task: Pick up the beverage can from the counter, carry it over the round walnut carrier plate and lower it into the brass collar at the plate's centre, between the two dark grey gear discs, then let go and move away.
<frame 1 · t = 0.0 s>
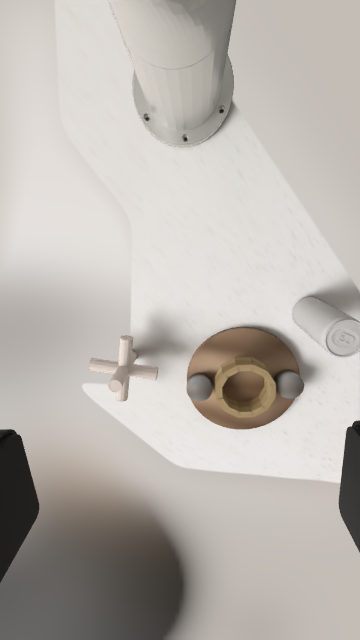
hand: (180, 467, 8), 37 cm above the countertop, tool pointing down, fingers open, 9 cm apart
beverage can: (306, 311, 44), on the countertop
carrier: (241, 378, 48), on the countertop
pipe connector: (131, 354, 48), on the countertop
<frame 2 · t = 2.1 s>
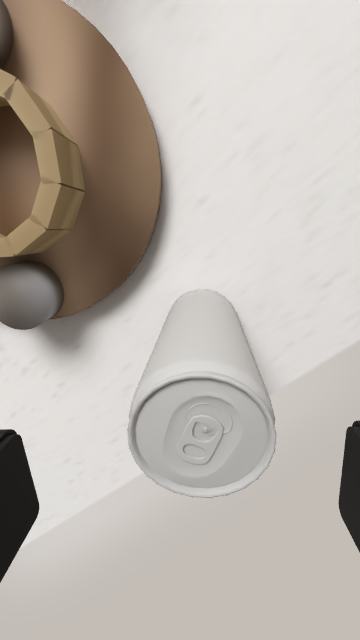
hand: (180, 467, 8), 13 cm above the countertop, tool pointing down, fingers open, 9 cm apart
beverage can: (202, 320, 20), on the countertop
carrier: (21, 179, 18), on the countertop
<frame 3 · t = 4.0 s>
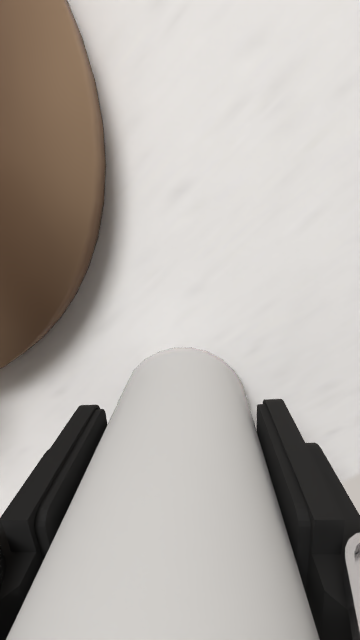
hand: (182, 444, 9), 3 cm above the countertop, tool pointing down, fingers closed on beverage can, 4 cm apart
beverage can: (185, 393, 12), on the countertop, touching gripper
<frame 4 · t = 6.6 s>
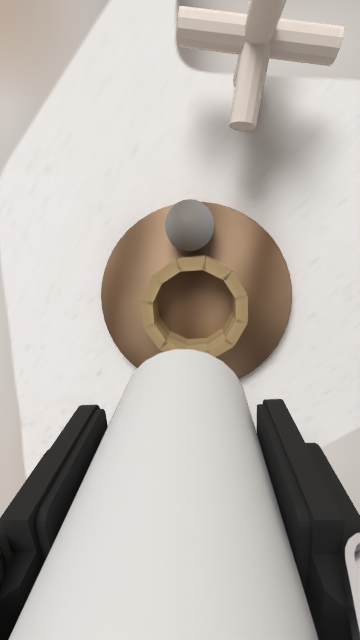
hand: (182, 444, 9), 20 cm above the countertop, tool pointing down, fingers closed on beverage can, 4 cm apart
beverage can: (185, 394, 12), point 17 cm above the countertop, touching gripper
carrier: (194, 301, 28), on the countertop
pipe connector: (244, 78, 23), on the countertop
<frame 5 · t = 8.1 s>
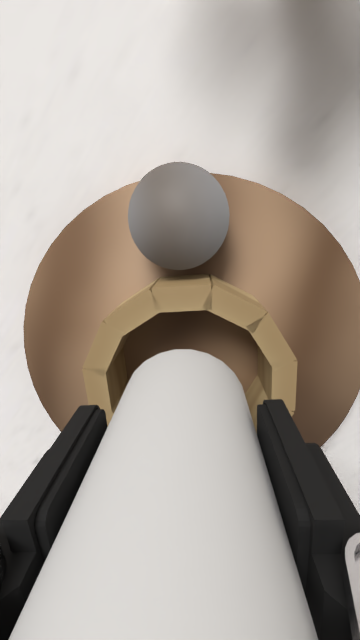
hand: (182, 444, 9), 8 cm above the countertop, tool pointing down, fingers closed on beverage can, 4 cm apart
beverage can: (185, 394, 12), point 4 cm above the countertop, touching gripper
carrier: (190, 351, 16), on the countertop
when the fingers open (6 cm above the countertop, at t = 9.1 s): beverage can drops 2 cm, resting on carrier.
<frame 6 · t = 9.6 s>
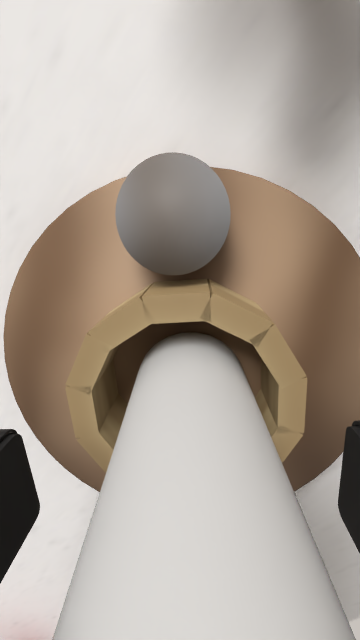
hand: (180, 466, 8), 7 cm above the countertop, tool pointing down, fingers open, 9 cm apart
beverage can: (189, 373, 14), point 1 cm above the countertop, touching carrier
carrier: (187, 362, 15), on the countertop
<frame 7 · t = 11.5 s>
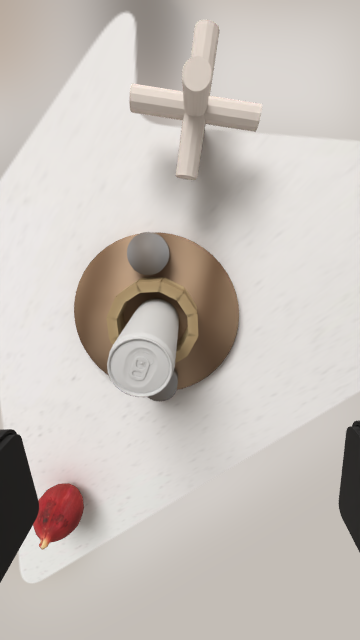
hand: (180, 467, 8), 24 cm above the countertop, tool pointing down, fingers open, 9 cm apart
beverage can: (157, 318, 32), point 1 cm above the countertop, touching carrier
carrier: (157, 315, 33), on the countertop
onion: (71, 485, 40), on the countertop
pipe connector: (194, 131, 27), on the countertop
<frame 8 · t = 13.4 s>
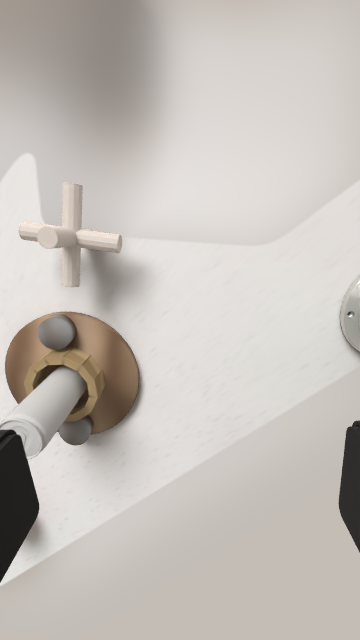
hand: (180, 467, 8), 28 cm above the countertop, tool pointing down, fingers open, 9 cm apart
beverage can: (72, 378, 39), point 1 cm above the countertop, touching carrier
carrier: (74, 374, 40), on the countertop
pipe connector: (89, 236, 34), on the countertop
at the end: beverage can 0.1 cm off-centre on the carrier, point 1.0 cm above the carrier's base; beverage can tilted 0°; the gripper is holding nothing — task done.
